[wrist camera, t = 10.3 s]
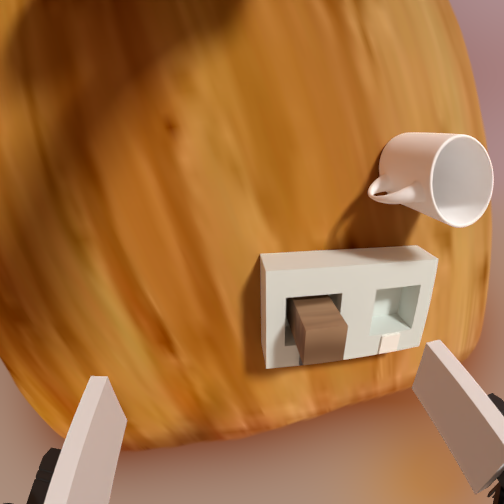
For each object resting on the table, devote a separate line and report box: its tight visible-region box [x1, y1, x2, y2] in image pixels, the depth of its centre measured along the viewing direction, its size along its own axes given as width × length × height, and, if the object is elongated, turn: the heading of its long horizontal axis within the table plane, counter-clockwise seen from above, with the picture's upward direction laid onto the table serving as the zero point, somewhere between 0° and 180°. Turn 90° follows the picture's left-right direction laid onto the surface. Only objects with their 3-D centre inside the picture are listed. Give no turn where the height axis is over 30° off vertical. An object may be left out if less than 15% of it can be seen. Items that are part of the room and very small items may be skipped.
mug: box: [368, 132, 494, 228], centre depth 29 cm, size 9×12×11 cm
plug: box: [287, 294, 348, 365], centre depth 33 cm, size 4×4×9 cm
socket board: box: [260, 245, 438, 369], centre depth 36 cm, size 12×20×5 cm, turn 92°
